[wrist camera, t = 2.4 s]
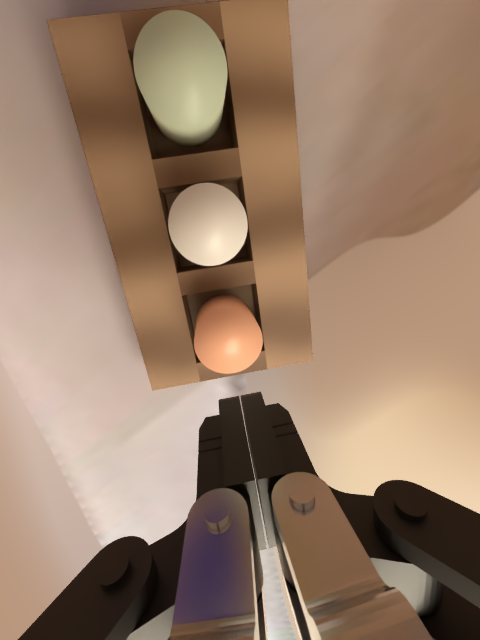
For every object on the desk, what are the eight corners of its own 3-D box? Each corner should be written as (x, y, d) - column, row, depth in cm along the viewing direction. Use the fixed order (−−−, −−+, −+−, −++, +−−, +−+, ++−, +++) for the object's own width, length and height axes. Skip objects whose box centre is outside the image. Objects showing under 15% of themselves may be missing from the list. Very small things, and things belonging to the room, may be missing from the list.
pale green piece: (142, 67, 15) (122, 15, 11) (216, 59, 15) (219, 4, 12) (160, 151, 17) (146, 128, 13) (227, 142, 17) (234, 117, 13)
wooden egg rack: (77, 60, 17) (46, 20, 14) (272, 37, 18) (287, -6, 14) (160, 367, 24) (152, 390, 20) (298, 342, 24) (313, 360, 21)
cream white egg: (170, 197, 17) (159, 189, 14) (234, 188, 18) (241, 177, 14) (183, 262, 19) (177, 271, 15) (243, 253, 19) (252, 259, 15)
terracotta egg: (191, 299, 19) (187, 316, 16) (248, 289, 20) (258, 304, 16) (202, 351, 21) (201, 379, 17) (255, 342, 21) (266, 367, 17)
